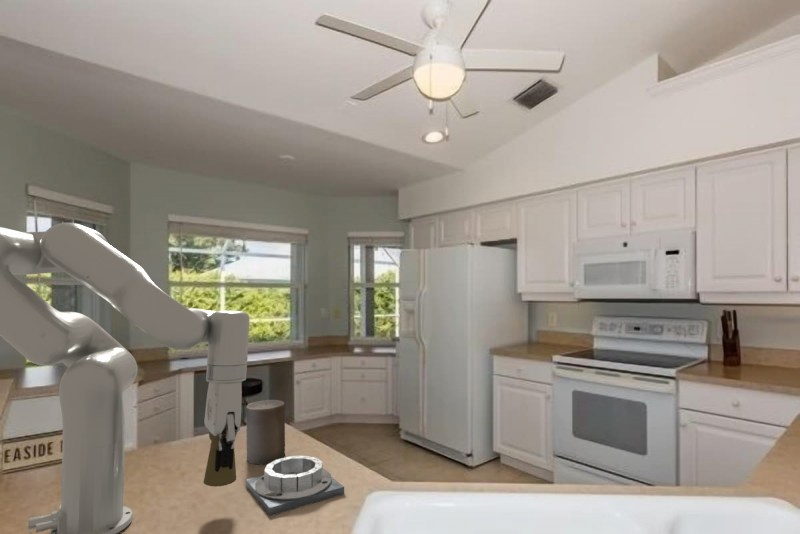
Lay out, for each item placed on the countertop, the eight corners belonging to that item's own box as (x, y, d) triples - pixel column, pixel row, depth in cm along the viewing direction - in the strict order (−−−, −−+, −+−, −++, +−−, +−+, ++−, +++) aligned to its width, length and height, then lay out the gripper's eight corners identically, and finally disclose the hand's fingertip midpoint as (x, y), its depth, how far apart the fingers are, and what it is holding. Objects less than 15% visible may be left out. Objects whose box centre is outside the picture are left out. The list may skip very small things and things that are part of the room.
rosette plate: (269, 516, 86) (269, 488, 87) (245, 486, 100) (246, 462, 100) (344, 493, 95) (344, 469, 96) (313, 469, 109) (313, 447, 109)
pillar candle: (291, 451, 121) (290, 394, 122) (275, 465, 111) (275, 403, 112) (256, 450, 122) (256, 394, 123) (238, 464, 112) (238, 403, 113)
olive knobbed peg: (203, 476, 90) (206, 420, 91) (234, 472, 93) (238, 418, 94) (203, 488, 85) (207, 428, 86) (237, 483, 88) (241, 426, 88)
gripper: (198, 367, 95) (192, 456, 94) (216, 381, 81) (209, 485, 80) (235, 365, 99) (229, 450, 98) (258, 378, 86) (252, 477, 84)
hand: (220, 465), depth 89 cm, fingers closed on olive knobbed peg, 3 cm apart
